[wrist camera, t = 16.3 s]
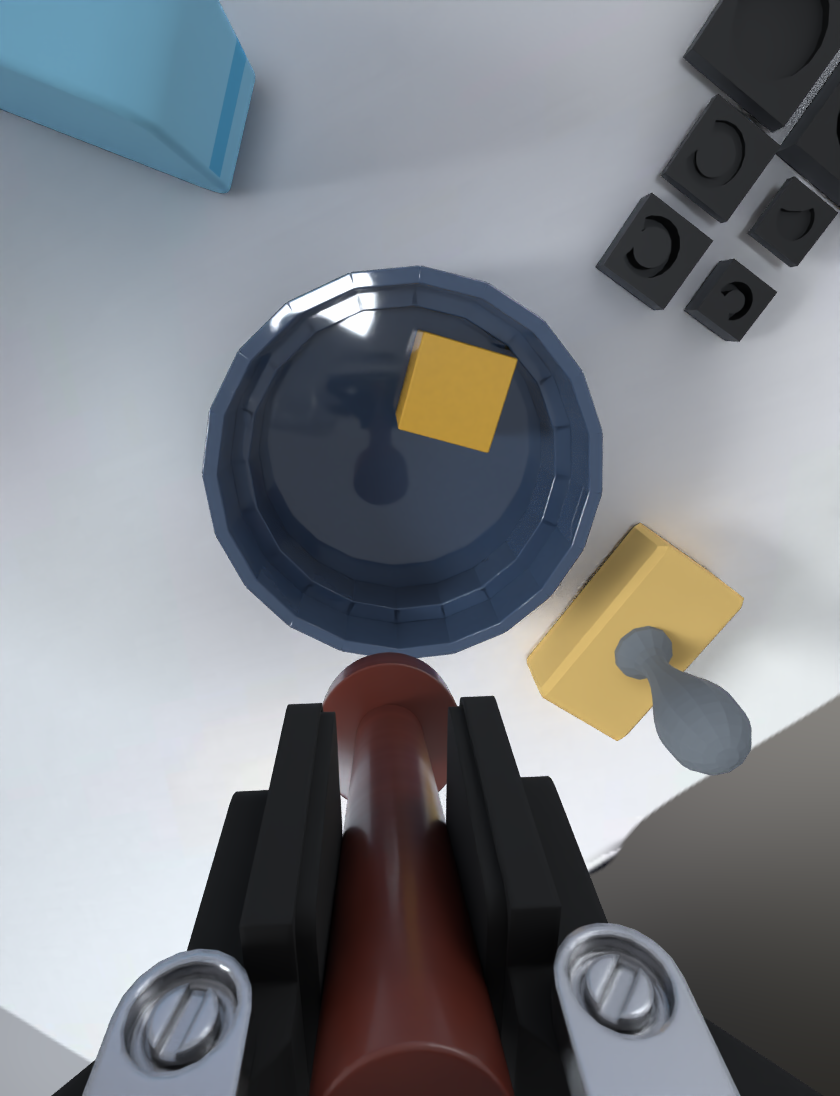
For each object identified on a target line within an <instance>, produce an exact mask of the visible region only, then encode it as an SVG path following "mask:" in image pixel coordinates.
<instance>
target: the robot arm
mask: <svg viewBox="0 0 840 1096" xmlns="http://www.w3.org/2000/svg"><path fill="white" fill-rule="evenodd" d="M446 827H447V831H448V835H449V839H450V843H451V847H452V851H453V855H454V858H455V862H456V866H457V870H458V874H459V878H460V882H461V886H462V890H463V894H464V898H465V902H466V906H467V910H468V914H469V918H470V922H471V926H472V930H473V934H474V938H475V942H476V946H477V950H478V954H479V958H480V962H481V966H482V970H483V974H484V978H485V982H486V984H487V988H488V992H489V996H490V1000H491V1004H492V1008H493V1012H494V1015H495V1019H496V1023H497V1027H498V1031H499V1035H500V1039H501V1043H502V1047H503V1051H504V1055H505V1059H506V1063H507V1067H508V1071H509V1075H510V1079H511V1083H512V1087H513V1091H514V1095H515V1096H823V1095H821V1094H820V1093H818V1092H817V1091H815V1090H814V1089H812V1088H811V1087H809V1086H808V1085H806V1084H804V1083H803V1082H801V1081H800V1080H799V1079H797V1078H795V1077H794V1076H792V1075H791V1074H789V1073H788V1072H786V1071H785V1070H783V1069H782V1068H780V1067H779V1066H777V1065H776V1064H774V1063H773V1062H771V1061H770V1060H768V1059H767V1058H765V1057H763V1056H762V1055H760V1054H759V1053H758V1052H756V1051H755V1050H753V1049H751V1048H750V1047H748V1046H747V1045H745V1044H744V1043H742V1042H741V1041H739V1040H738V1039H736V1038H734V1037H733V1036H732V1035H730V1034H729V1033H727V1032H726V1031H724V1030H722V1029H721V1028H720V1027H718V1026H717V1025H715V1024H714V1023H712V1022H710V1021H709V1020H707V1019H706V1018H704V1017H703V1016H702V1014H701V1012H700V1010H699V1008H698V1006H697V1004H696V1002H695V999H694V997H693V995H692V993H691V991H690V989H689V987H688V985H687V983H686V981H685V978H684V976H683V975H682V973H681V972H680V970H679V969H678V967H677V966H676V964H675V962H674V961H673V959H672V958H671V957H670V956H669V955H668V954H667V953H666V952H665V951H664V950H663V949H662V948H661V947H660V946H659V945H658V944H657V943H656V942H655V941H653V940H651V939H650V938H648V937H646V936H645V935H643V934H642V933H640V932H638V931H636V930H634V929H631V928H628V927H625V926H621V925H619V924H610V923H608V922H607V919H606V917H605V914H604V912H603V909H602V907H601V904H600V902H599V899H598V896H597V893H596V891H595V888H594V886H593V883H592V880H591V878H590V875H589V873H588V870H587V868H586V865H585V862H584V860H583V857H582V855H581V852H580V849H579V847H578V844H577V842H576V839H575V836H574V834H573V831H572V829H571V826H570V824H569V821H568V818H567V816H566V813H565V811H564V808H563V805H562V803H561V800H560V798H559V795H558V792H557V790H556V787H555V785H554V783H553V781H552V779H551V778H550V777H549V776H540V777H520V774H519V771H518V768H517V765H516V762H515V759H514V756H513V752H512V749H511V746H510V743H509V740H508V737H507V734H506V730H505V727H504V724H503V721H502V718H501V715H500V712H499V709H498V705H497V702H496V699H495V697H494V696H479V697H461V698H460V705H459V706H453V707H448V726H447V793H446ZM342 838H343V834H342V816H341V798H340V780H339V762H338V744H337V726H336V713H335V712H323V705H322V703H311V704H289V705H288V706H287V709H286V713H285V718H284V723H283V727H282V732H281V736H280V741H279V745H278V750H277V755H276V759H275V764H274V768H273V773H272V778H271V782H270V787H269V790H260V791H240V792H235V794H234V795H233V797H232V799H231V802H230V805H229V808H228V812H227V815H226V819H225V822H224V826H223V829H222V832H221V836H220V839H219V843H218V846H217V849H216V853H215V856H214V860H213V863H212V867H211V870H210V873H209V877H208V880H207V884H206V887H205V891H204V894H203V897H202V901H201V904H200V908H199V911H198V915H197V918H196V921H195V925H194V928H193V932H192V935H191V939H190V942H189V945H188V949H187V951H186V952H181V953H178V954H175V955H173V956H171V957H169V958H167V959H165V960H162V961H160V962H158V963H157V964H156V965H154V966H153V967H152V968H150V969H149V970H148V971H146V972H145V973H144V974H142V975H141V976H140V977H139V978H138V979H137V980H136V981H135V982H134V984H133V985H132V986H131V987H130V988H129V989H128V991H127V992H126V993H125V994H124V995H123V997H122V999H121V1001H120V1002H119V1004H118V1006H117V1008H116V1010H115V1012H114V1014H113V1016H112V1018H111V1020H110V1023H109V1026H108V1028H107V1031H106V1034H105V1036H104V1039H103V1042H102V1044H101V1047H100V1050H99V1052H98V1055H97V1058H96V1060H95V1061H93V1062H92V1063H91V1064H90V1065H89V1066H87V1067H86V1068H85V1069H84V1070H82V1071H81V1072H80V1073H79V1074H78V1075H76V1076H75V1077H74V1078H73V1079H71V1080H70V1081H69V1082H68V1083H67V1084H65V1085H64V1086H63V1087H62V1088H60V1090H58V1091H57V1092H56V1093H54V1094H53V1095H52V1096H309V1090H310V1082H311V1074H312V1067H313V1059H314V1052H315V1044H316V1036H317V1029H318V1021H319V1013H320V1006H321V999H322V991H323V984H324V976H325V968H326V961H327V953H328V945H329V938H330V930H331V922H332V915H333V907H334V900H335V892H336V884H337V877H338V869H339V861H340V854H341V846H342Z"/></svg>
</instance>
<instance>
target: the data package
mask: <svg viewBox="0 0 840 1096" xmlns="http://www.w3.org/2000/svg"><path fill="white" fill-rule="evenodd" d="M254 83H255V73H254V71H253V69H252V67H251V65H250V63H249V61H248V59H247V57H246V55H245V53H244V51H243V49H242V47H241V44H240V42H239V40H238V38H237V36H236V34H235V32H234V30H233V28H232V26H231V24H230V22H229V20H228V18H227V16H226V14H225V12H224V10H223V8H222V6H221V4H220V2H219V0H0V109H2V110H5V111H7V112H10V113H12V114H15V115H17V116H20V117H23V118H25V119H28V120H30V121H33V122H35V123H38V124H41V125H43V126H46V127H48V128H51V129H53V130H56V131H59V132H61V133H64V134H66V135H69V136H71V137H74V138H77V139H79V140H82V141H84V142H87V143H89V144H92V145H95V146H97V147H100V148H102V149H105V150H107V151H110V152H113V153H115V154H118V155H120V156H123V157H125V158H128V159H131V160H133V161H136V162H138V163H141V164H143V165H146V166H148V167H151V168H154V169H156V170H159V171H161V172H164V173H166V174H169V175H172V176H174V177H177V178H179V179H182V180H184V181H187V182H190V183H192V184H195V185H197V186H200V187H203V188H205V189H208V190H211V191H214V192H218V193H227V192H229V190H230V188H231V184H232V179H233V175H234V170H235V166H236V162H237V157H238V153H239V149H240V144H241V140H242V135H243V131H244V127H245V122H246V118H247V114H248V109H249V105H250V100H251V96H252V92H253V87H254Z"/></svg>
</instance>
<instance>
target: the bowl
mask: <svg viewBox="0 0 840 1096" xmlns="http://www.w3.org/2000/svg"><path fill="white" fill-rule="evenodd" d="M417 330H423V331H426V332H429V333H433V334H436V335H440V336H443V337H446V338H450V339H453V340H457V341H460V342H463V343H467V344H470V345H474V346H477V347H480V348H484V349H487V350H491V351H494V352H497V353H501V354H504V355H507V356H511V357H514V358H517V359H518V361H517V365H516V368H515V371H514V374H513V377H512V380H511V384H510V387H509V390H508V393H507V396H506V399H505V403H504V406H503V409H502V412H501V415H500V419H499V422H498V425H497V428H496V431H495V434H494V438H493V441H492V444H491V447H490V450H489V452H488V453H486V452H482V451H478V450H474V449H471V448H467V447H463V446H460V445H456V444H452V443H448V442H445V441H441V440H437V439H433V438H430V437H426V436H422V435H418V434H415V433H411V432H407V431H404V430H400V429H398V425H397V420H396V414H395V413H396V410H397V406H398V402H399V398H400V394H401V390H402V387H403V383H404V379H405V375H406V371H407V368H408V364H409V360H410V356H411V352H412V348H413V345H414V341H415V337H416V333H417ZM602 468H603V433H602V428H601V425H600V422H599V419H598V416H597V413H596V410H595V407H594V403H593V400H592V397H591V394H590V391H589V388H588V385H587V382H586V379H585V376H584V373H582V370H581V368H580V367H579V366H578V364H577V363H576V362H575V360H574V359H573V358H572V356H571V355H570V354H569V352H568V351H567V350H566V348H565V347H564V346H563V344H562V343H561V342H560V340H559V339H558V338H557V336H556V335H555V334H554V333H553V331H552V330H551V329H550V327H549V326H548V325H547V323H546V322H545V321H543V319H542V318H541V317H539V316H538V315H536V314H535V313H533V312H532V311H530V310H529V309H527V308H526V307H524V306H523V305H521V304H520V303H518V302H517V301H515V300H513V299H512V298H510V297H509V296H507V295H506V294H504V293H503V292H501V291H500V290H498V289H497V288H495V287H494V286H492V285H491V284H489V283H487V282H485V281H481V280H477V279H473V278H469V277H465V276H461V275H457V274H453V273H449V272H445V271H441V270H437V269H433V268H429V267H425V266H408V267H398V268H388V269H378V270H367V271H357V272H351V274H350V273H347V274H345V275H343V276H341V277H339V278H337V279H335V280H332V281H330V282H328V283H326V284H324V285H322V286H320V287H318V288H315V289H313V290H311V291H309V292H307V293H305V294H303V295H301V296H298V297H296V298H294V299H292V300H290V301H288V303H285V304H284V305H283V306H282V307H281V308H280V309H279V310H278V311H277V312H276V313H275V314H274V315H273V316H272V317H271V318H270V319H269V320H268V321H267V322H266V323H265V324H264V325H263V326H262V327H261V328H260V329H259V330H258V331H257V332H256V333H255V334H254V335H253V336H252V337H251V338H250V339H249V340H248V341H247V342H246V343H245V344H244V345H243V346H242V347H241V348H240V349H239V351H238V352H237V354H236V356H235V358H234V360H233V362H232V364H231V366H230V368H229V370H228V372H227V375H226V377H225V379H224V381H223V383H222V385H221V387H220V389H219V391H218V393H217V395H216V397H215V399H214V402H213V404H212V406H211V408H210V411H209V416H208V425H207V434H206V443H205V451H204V460H203V469H202V474H203V475H202V477H203V481H204V486H205V490H206V495H207V500H208V504H209V509H210V514H211V518H212V523H213V527H214V532H215V534H216V537H217V539H218V541H219V542H220V544H221V546H222V547H223V549H224V551H225V553H226V554H227V556H228V558H229V559H230V561H231V563H232V565H233V566H234V568H235V570H236V571H237V573H238V575H239V576H240V578H241V580H242V582H243V583H244V585H245V586H246V587H247V589H249V590H250V591H251V592H252V593H253V594H254V595H255V596H256V597H257V598H258V599H260V600H261V601H262V602H263V603H264V604H265V605H266V606H267V607H268V608H269V609H271V610H272V611H273V612H274V613H275V614H276V615H277V616H278V617H279V618H280V619H282V620H283V621H284V622H285V623H286V624H287V625H288V626H289V625H290V627H291V628H294V629H296V630H298V631H300V632H302V633H304V634H306V635H308V636H310V637H312V638H314V639H317V640H319V641H321V642H323V643H325V644H327V645H329V646H331V647H333V648H335V649H337V650H340V651H343V652H349V653H355V654H361V655H367V656H369V655H372V654H377V653H385V652H393V653H401V654H406V655H409V656H412V657H415V658H422V657H431V656H439V655H448V654H453V653H457V652H459V651H462V650H464V649H467V648H469V647H471V646H474V645H476V644H479V643H481V642H484V641H486V640H488V639H491V638H493V637H496V636H498V635H501V634H503V633H505V631H508V630H509V629H510V628H512V627H513V626H514V625H516V624H517V623H518V622H519V621H521V620H522V619H523V618H524V617H526V616H527V615H528V614H529V613H531V612H532V611H533V610H534V609H536V608H537V607H538V606H539V605H541V604H542V603H543V602H545V601H546V600H547V599H548V598H549V597H550V596H551V595H552V594H553V592H554V591H555V590H556V588H557V587H558V585H559V584H560V583H561V581H562V580H563V578H564V577H565V575H566V574H567V573H568V571H569V570H570V568H571V567H572V566H573V564H574V563H575V561H576V560H577V558H578V557H579V556H580V554H581V553H582V551H583V549H584V547H585V544H586V541H587V538H588V535H589V532H590V529H591V526H592V523H593V520H594V517H595V514H596V511H597V508H598V505H599V501H600V498H601V495H602Z"/></svg>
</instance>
